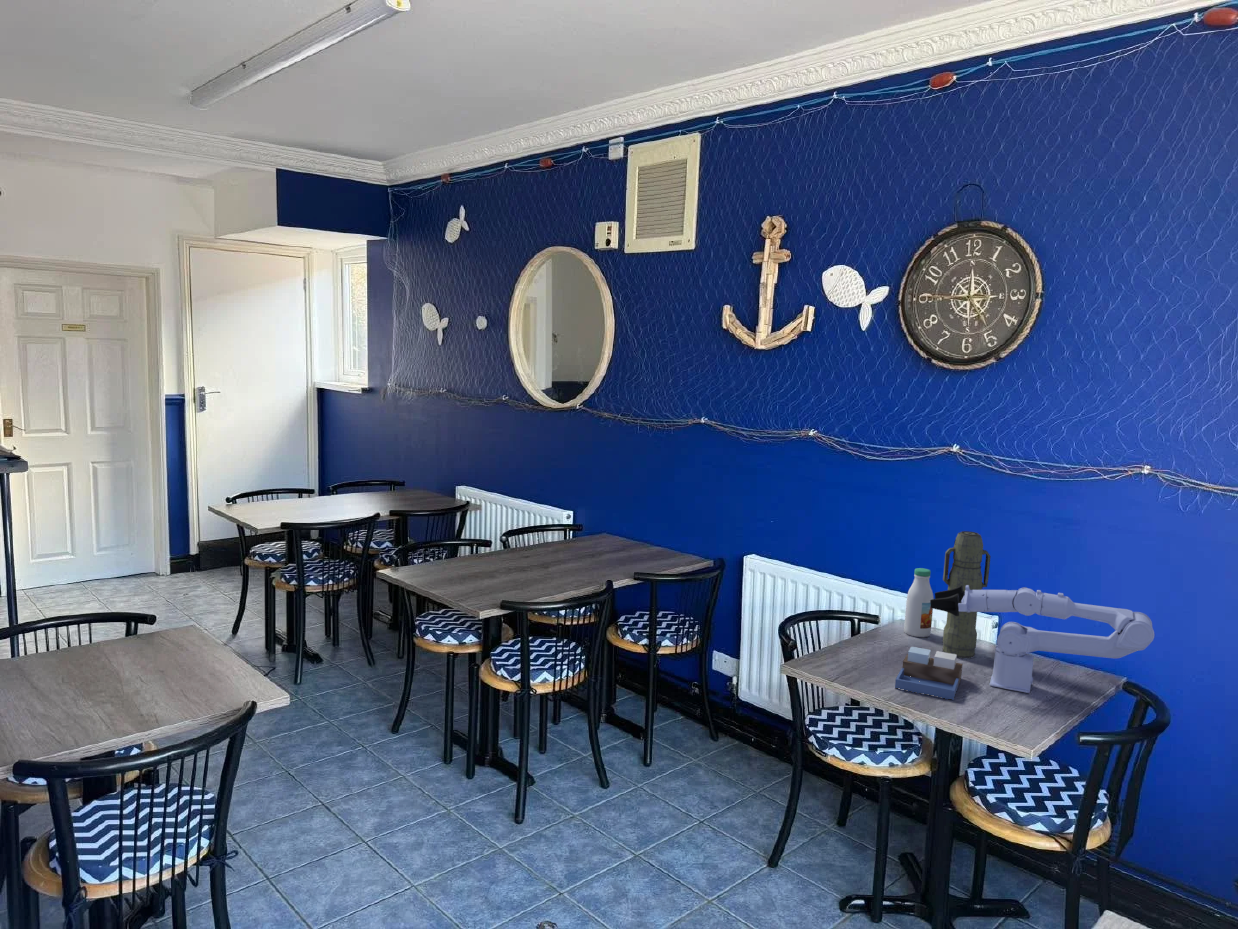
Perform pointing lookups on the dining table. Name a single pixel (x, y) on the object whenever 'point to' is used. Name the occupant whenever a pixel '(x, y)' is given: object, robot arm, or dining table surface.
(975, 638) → the thermos
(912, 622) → the milk bottle
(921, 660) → the blue tile
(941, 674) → the brown rectangular block
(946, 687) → the tray
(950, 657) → the cream tile
